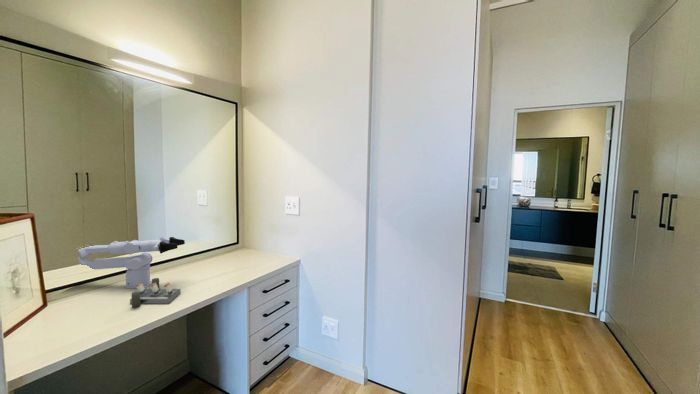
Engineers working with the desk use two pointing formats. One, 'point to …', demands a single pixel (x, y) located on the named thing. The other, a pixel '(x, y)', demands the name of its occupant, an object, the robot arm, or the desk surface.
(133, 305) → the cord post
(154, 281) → the cylinder
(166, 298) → the breaker panel
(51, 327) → the desk surface
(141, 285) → the white and orange block
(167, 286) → the orange and white block
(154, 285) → the white and orange block
